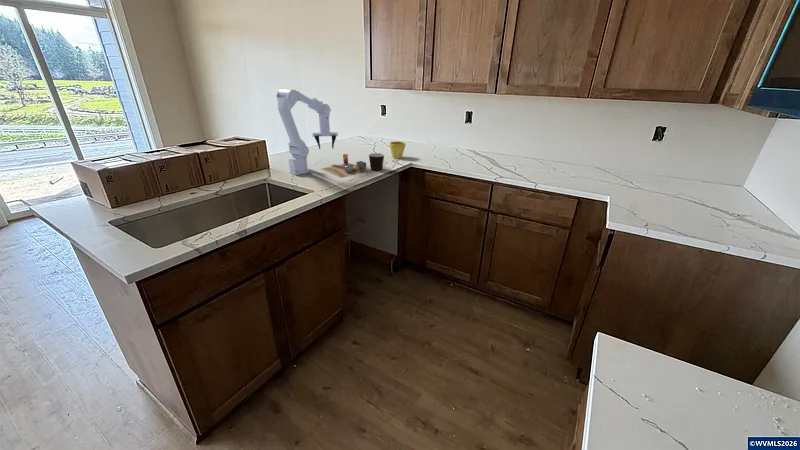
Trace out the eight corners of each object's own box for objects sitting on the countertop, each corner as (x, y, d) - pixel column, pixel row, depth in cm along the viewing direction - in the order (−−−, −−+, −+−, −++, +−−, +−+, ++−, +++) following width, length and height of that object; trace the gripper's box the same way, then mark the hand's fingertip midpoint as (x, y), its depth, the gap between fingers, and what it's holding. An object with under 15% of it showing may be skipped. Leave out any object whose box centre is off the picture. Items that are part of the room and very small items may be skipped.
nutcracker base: (341, 180, 177) (340, 169, 175) (320, 171, 192) (319, 161, 189) (371, 173, 190) (370, 163, 187) (349, 165, 204) (348, 155, 202)
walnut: (355, 172, 186) (355, 166, 184) (351, 171, 188) (351, 164, 187) (360, 171, 188) (360, 165, 187) (357, 169, 191) (356, 163, 189)
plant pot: (396, 154, 231) (396, 140, 227) (408, 157, 226) (408, 142, 221) (386, 157, 224) (386, 142, 220) (398, 160, 218) (398, 145, 214)
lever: (352, 172, 184) (352, 161, 182) (345, 173, 184) (344, 161, 181) (349, 164, 200) (348, 153, 197) (342, 164, 199) (341, 154, 197)
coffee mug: (378, 175, 187) (378, 157, 183) (366, 172, 191) (365, 155, 187) (389, 170, 196) (389, 153, 192) (377, 168, 200) (377, 151, 196)
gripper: (336, 123, 200) (338, 146, 206) (311, 124, 197) (314, 147, 203) (337, 125, 194) (338, 149, 200) (311, 126, 191) (313, 149, 197)
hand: (326, 148), depth 201 cm, fingers open, 7 cm apart
